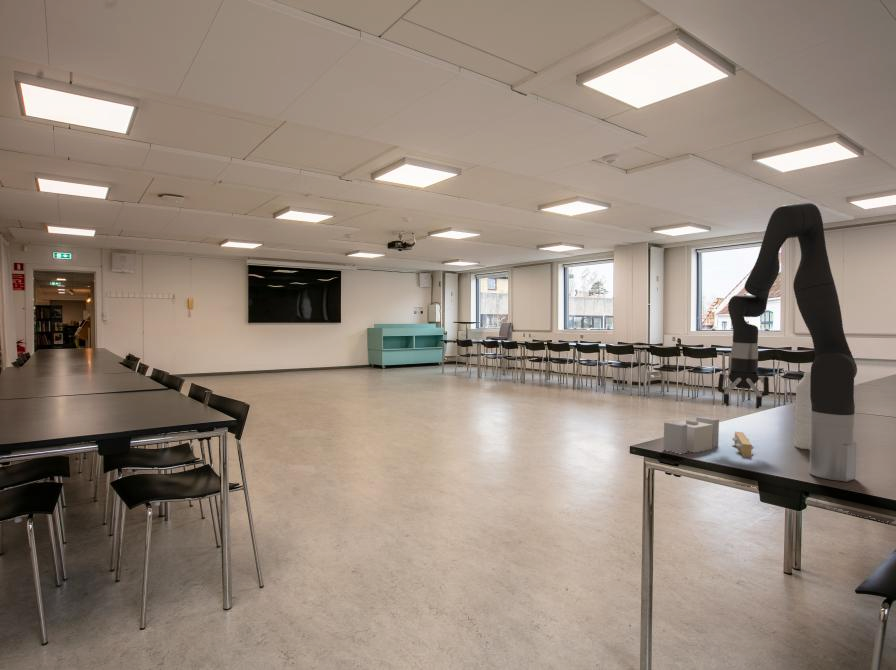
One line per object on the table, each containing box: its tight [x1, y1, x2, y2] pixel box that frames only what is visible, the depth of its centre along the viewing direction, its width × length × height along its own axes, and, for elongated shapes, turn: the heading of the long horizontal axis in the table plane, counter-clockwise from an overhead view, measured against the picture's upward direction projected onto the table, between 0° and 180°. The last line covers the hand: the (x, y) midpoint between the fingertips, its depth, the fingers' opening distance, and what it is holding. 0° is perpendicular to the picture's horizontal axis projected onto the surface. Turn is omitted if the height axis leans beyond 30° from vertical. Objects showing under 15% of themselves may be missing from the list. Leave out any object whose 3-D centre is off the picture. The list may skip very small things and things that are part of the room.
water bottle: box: [793, 372, 811, 451], centre depth 169 cm, size 9×6×25 cm
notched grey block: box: [663, 416, 720, 455], centre depth 166 cm, size 8×21×9 cm, turn 123°
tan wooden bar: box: [732, 431, 754, 458], centre depth 166 cm, size 5×20×4 cm, turn 157°
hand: (741, 406), depth 166 cm, fingers open, 8 cm apart
